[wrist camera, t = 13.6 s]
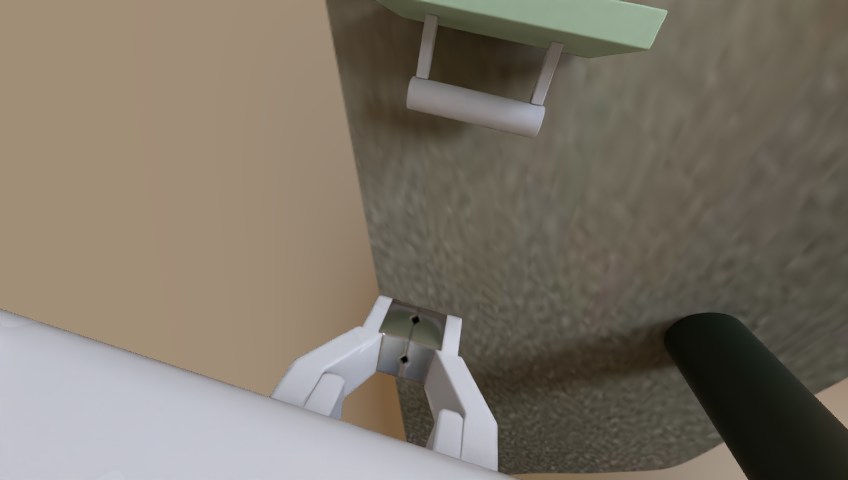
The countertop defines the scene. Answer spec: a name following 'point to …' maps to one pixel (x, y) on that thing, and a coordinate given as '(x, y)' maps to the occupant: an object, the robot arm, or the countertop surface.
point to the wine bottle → (757, 402)
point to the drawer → (528, 24)
